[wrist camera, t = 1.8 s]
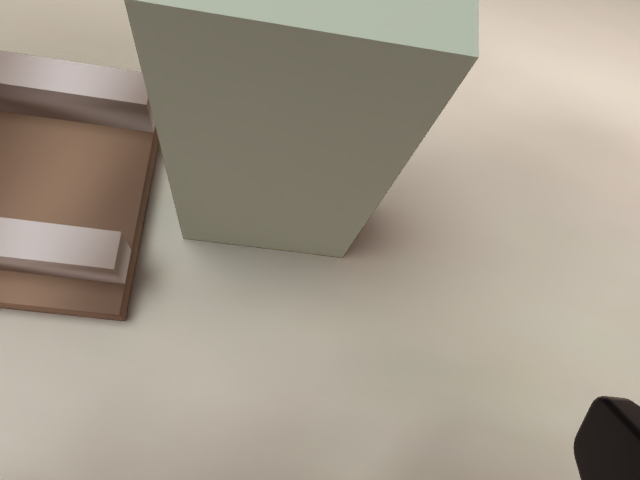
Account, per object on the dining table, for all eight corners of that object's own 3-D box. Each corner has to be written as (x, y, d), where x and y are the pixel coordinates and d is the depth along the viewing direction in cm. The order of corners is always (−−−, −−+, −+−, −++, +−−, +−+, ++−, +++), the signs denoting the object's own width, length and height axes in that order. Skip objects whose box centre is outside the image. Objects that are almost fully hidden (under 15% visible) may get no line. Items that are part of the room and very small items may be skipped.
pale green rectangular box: (346, 196, 23) (478, -57, 11) (342, 257, 22) (478, 57, 10) (193, 176, 23) (150, -120, 10) (183, 238, 22) (123, -2, 10)
